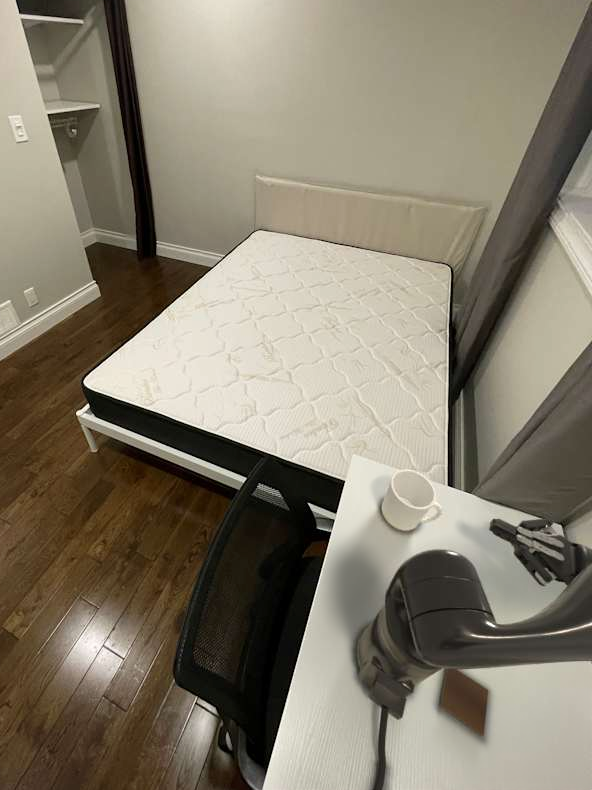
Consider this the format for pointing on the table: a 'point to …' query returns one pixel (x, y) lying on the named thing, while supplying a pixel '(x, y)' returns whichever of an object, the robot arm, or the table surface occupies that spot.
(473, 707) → the coaster
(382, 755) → the robot arm
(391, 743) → the table surface
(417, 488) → the mug
